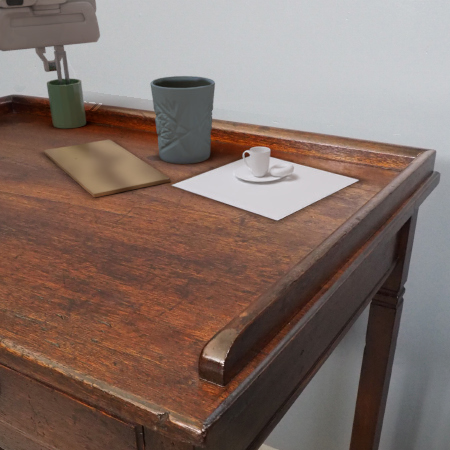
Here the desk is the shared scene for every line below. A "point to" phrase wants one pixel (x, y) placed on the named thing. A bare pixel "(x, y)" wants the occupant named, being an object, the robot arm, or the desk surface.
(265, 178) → the teacup and saucer
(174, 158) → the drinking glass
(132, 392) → the desk surface
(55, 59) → the tongs
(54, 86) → the green cup
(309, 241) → the desk surface
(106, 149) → the cork mat
